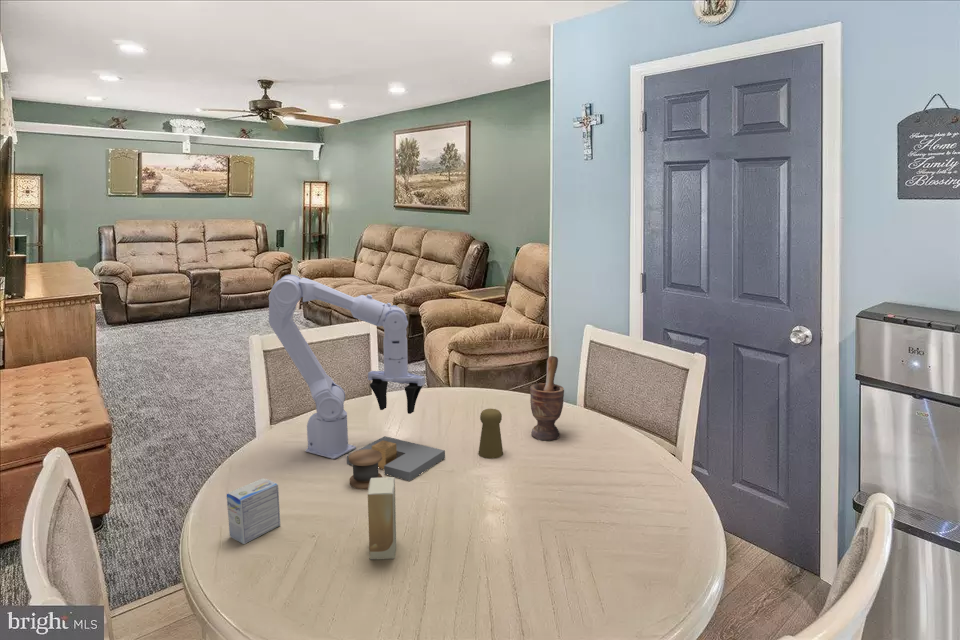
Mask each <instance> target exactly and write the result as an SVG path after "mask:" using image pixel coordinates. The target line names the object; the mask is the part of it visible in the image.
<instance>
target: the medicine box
mask: <svg viewBox="0 0 960 640" xmlns="http://www.w3.org/2000/svg"><path fill="white" fill-rule="evenodd" d="M226 504H227V505H226V506H227V516H228V518H227V519H228V531H229V537H230V538H231V539H233V540H235V541H237V542H238V543H240V544H241V545H245V544H247V543H249V542H251V541H253V540H255V539H256V538H259V537H261V536H263V535H265V534H267V533H268V532H270V531H273V530H274V529H276V528H278V527H281V515H280V513H281V512H280V511H281V510H280V508H281V507H280V492H279V484H278V483H277V482H274V481H272V480H270V479H267V478H264V477H262V478H260V479H257V480H256V481H253V482H251V483H248V484H246V485H243V486H241V487H239V488H236V489H235V490H232V491H230V492H228V493H226Z"/></svg>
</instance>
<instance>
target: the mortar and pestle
mask: <svg viewBox="0 0 960 640" xmlns="http://www.w3.org/2000/svg"><path fill="white" fill-rule="evenodd" d="M558 365H559V358H558V357H557V356H554V355H550V356H548V358H547V361H546V379H545V382H544V383H543V382H540V383H534V384H532V385H530V387H529V389H530V391H529V394H530V398H529V399H530V400H529V401H530V409H531V414H532V416H533V418H534V419H535V420H536V422H537V423H536V425H535V426H533V428H532V430H531V436H532V437H533V438H535V439H537V440H538V441H551V440H557V439H559V438H560V435H561V433H560V432H559V428H558V427H557V426H556V424H555V423H556V422H557V421H558V419H559V418H560V417H561V414H562V411H563V407H564V396H565V389H564V387H563V386H561V385H560V384H555V378H556V377H555V376H556V373H557V369H558Z"/></svg>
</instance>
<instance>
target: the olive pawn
mask: <svg viewBox="0 0 960 640" xmlns="http://www.w3.org/2000/svg"><path fill="white" fill-rule="evenodd" d="M502 415H503V414H502V412H501V411H500V410H498V409H496V408H486V409H484V410H482V411H481V412H480V415H479V417H480V418H479V419H480V422H481V423H482V426H481V432H480V439H479V448H478V453H477V454H478V456H479V457H481V458H484V459H491V460H492V459H499V458H501V457H503V455H504V449H503V441H502V440H503V439H502V433H501V427H500V426H501V425H500V424H501V422H502V420H503V419H502V418H503V417H502Z"/></svg>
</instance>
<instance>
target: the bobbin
mask: <svg viewBox="0 0 960 640" xmlns="http://www.w3.org/2000/svg"><path fill="white" fill-rule="evenodd" d="M357 450H358V451H357ZM357 450H355V451H353V452H351V453H349V454H350V455H349V454H348V455H349V462H350V463H351V464H353V465H352V475H351V476H350V477H349V486H351V487H352V488H353V489H358V490H368V488H369V482H370V479H371V478H381V477H383V475H382V474H381V473H379V468H378V462H380V461H381V459H382V454H381V452H379V451H377V450H372V449H364V450H359V449H357Z"/></svg>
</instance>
